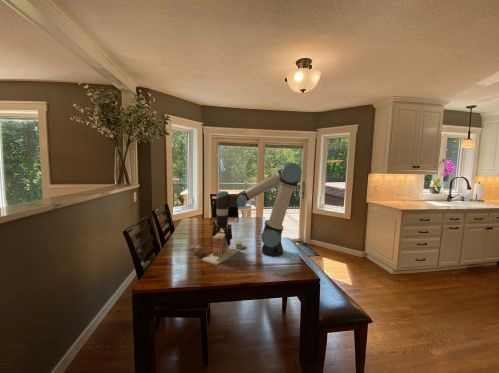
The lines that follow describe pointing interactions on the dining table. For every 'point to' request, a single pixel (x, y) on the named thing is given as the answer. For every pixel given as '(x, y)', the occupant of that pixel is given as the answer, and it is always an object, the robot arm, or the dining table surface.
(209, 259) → the board
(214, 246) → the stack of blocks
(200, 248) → the walnut cylinder
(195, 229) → the dining table surface
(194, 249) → the oak cube
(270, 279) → the dining table surface
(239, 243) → the sage block
